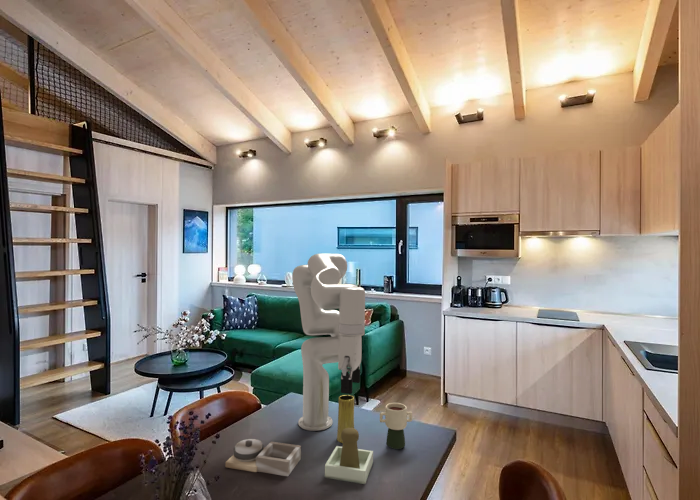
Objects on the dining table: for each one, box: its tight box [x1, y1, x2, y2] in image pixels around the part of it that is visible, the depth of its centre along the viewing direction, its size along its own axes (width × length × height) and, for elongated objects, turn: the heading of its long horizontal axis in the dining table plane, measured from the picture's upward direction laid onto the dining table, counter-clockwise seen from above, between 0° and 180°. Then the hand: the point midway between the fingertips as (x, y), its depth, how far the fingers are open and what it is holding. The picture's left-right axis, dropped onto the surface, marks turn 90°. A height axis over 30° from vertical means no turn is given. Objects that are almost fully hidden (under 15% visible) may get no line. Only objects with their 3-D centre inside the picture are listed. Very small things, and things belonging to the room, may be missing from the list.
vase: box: [336, 394, 355, 444], centre depth 134 cm, size 6×6×14 cm
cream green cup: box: [379, 402, 413, 450], centre depth 130 cm, size 11×7×13 cm, turn 95°
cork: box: [340, 427, 360, 469], centre depth 116 cm, size 6×6×11 cm
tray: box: [324, 445, 374, 485], centre depth 115 cm, size 12×12×4 cm
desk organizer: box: [225, 438, 302, 477], centre depth 119 cm, size 11×20×6 cm, turn 76°
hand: (350, 387), depth 116 cm, fingers open, 9 cm apart
